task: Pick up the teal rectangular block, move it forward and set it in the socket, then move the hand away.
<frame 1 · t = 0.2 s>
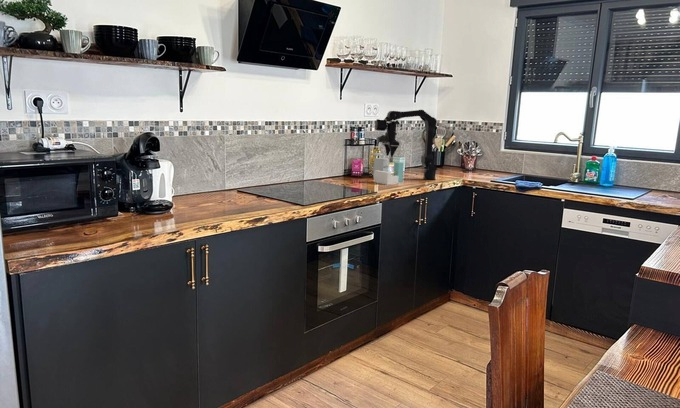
hand: (389, 156, 320), 15 cm above the worktop, tool pointing down, fingers open, 9 cm apart
teal rectangular block: (397, 182, 311), on the worktop
socket: (388, 182, 307), on the worktop
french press: (376, 175, 343), on the worktop
supplement box: (380, 178, 329), on the worktop
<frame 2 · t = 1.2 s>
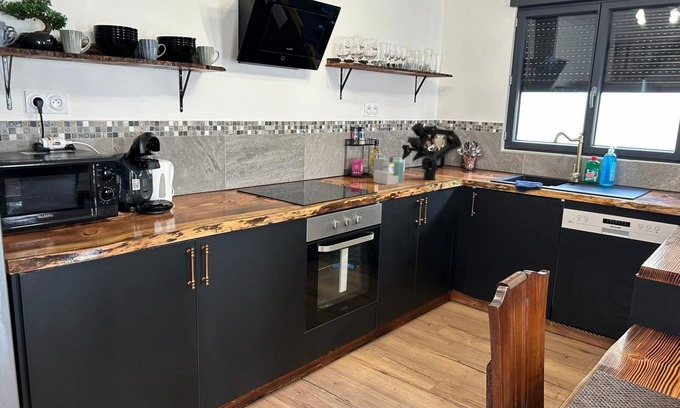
hand: (407, 159, 314), 13 cm above the worktop, tool tilted 45°, fingers open, 9 cm apart
nothing on the worktop moved.
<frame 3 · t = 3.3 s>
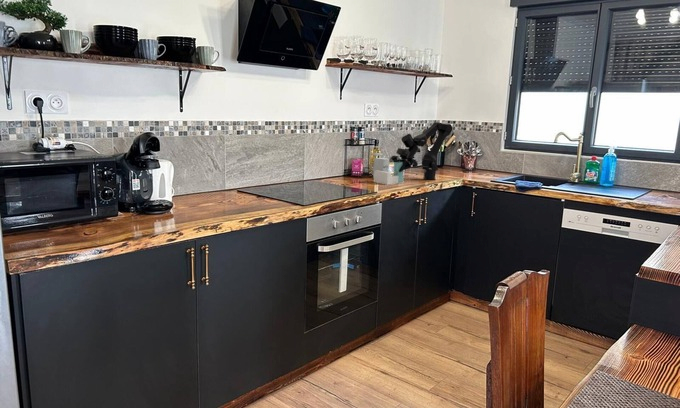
hand: (396, 171, 309), 7 cm above the worktop, tool tilted 45°, fingers closed on teal rectangular block, 4 cm apart
teal rectangular block: (397, 181, 311), on the worktop, touching gripper
everything else where it was.
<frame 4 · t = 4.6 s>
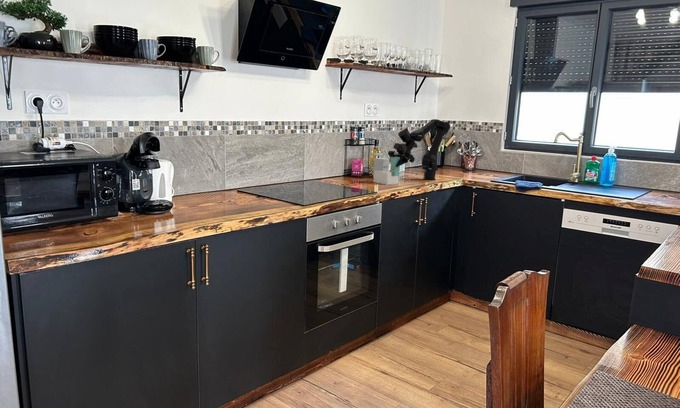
hand: (393, 166, 307), 10 cm above the worktop, tool tilted 45°, fingers closed on teal rectangular block, 4 cm apart
teal rectangular block: (394, 177, 309), point 3 cm above the worktop, touching gripper
everything else where it was.
when the fingers open (7 cm above the worktop, at t = 6.2 s): teal rectangular block stays where it is, on the worktop.
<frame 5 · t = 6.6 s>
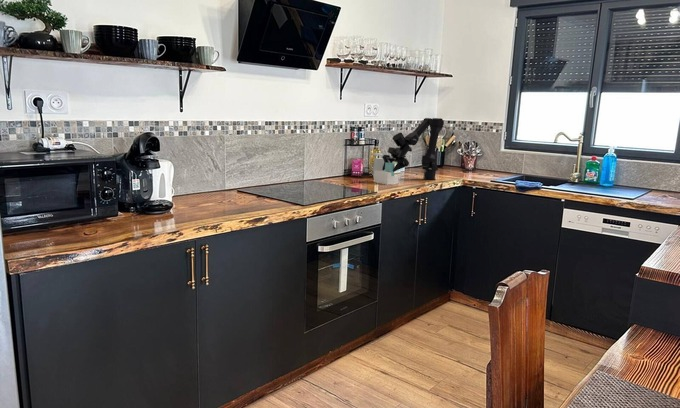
hand: (387, 170, 305), 7 cm above the worktop, tool tilted 45°, fingers open, 9 cm apart
teal rectangular block: (388, 182, 307), on the worktop
everything else where it was.
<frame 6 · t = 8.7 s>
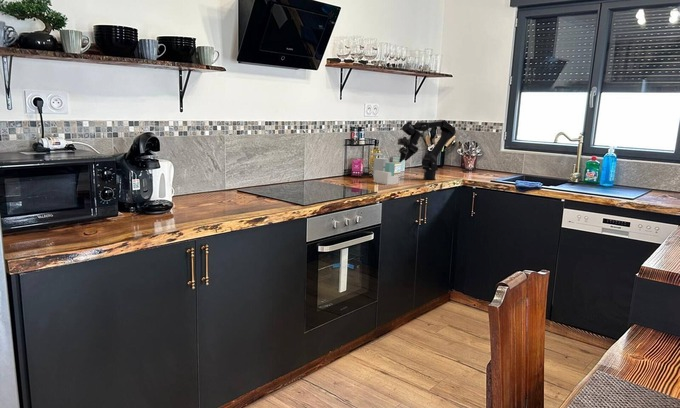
hand: (402, 161, 313), 12 cm above the worktop, tool tilted 30°, fingers open, 9 cm apart
nothing on the worktop moved.
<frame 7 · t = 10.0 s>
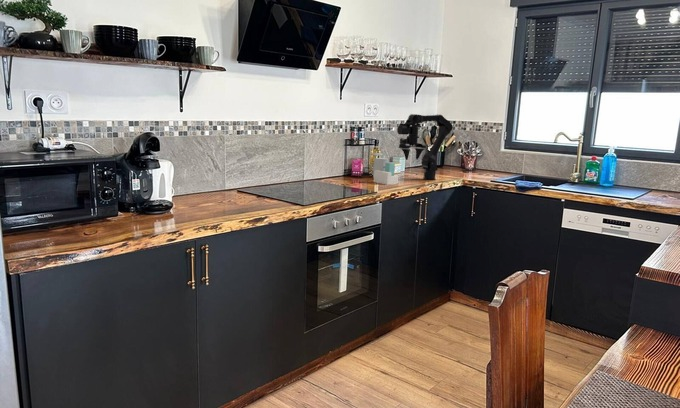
hand: (411, 159, 320), 13 cm above the worktop, tool pointing down, fingers open, 9 cm apart
nothing on the worktop moved.
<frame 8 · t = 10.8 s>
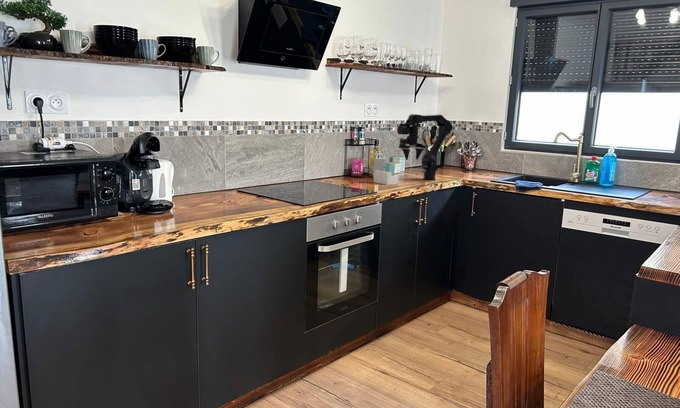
hand: (411, 159, 320), 13 cm above the worktop, tool pointing down, fingers open, 9 cm apart
nothing on the worktop moved.
at the end: teal rectangular block 0.1 cm from the socket (horizontally); teal rectangular block tilted 0°; the gripper is holding nothing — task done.
